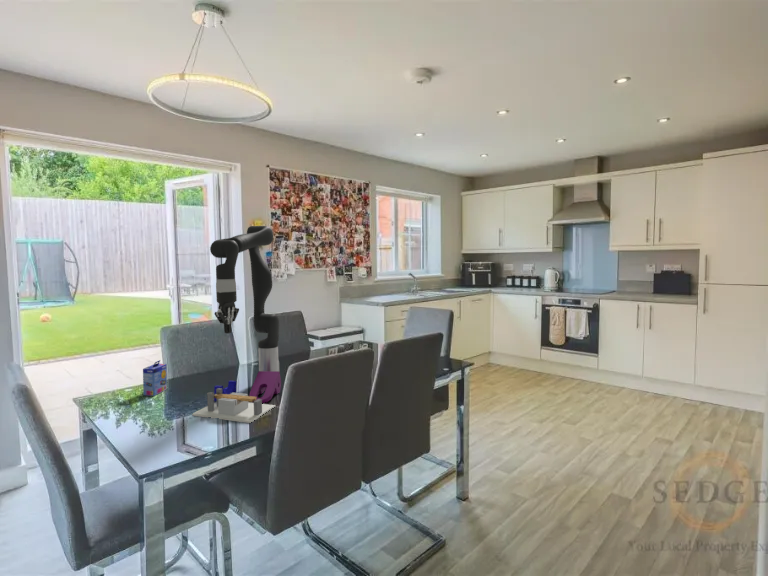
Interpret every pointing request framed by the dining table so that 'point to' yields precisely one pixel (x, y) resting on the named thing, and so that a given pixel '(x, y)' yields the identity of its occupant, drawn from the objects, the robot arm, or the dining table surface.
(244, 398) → the wooden strip
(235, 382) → the cable clip
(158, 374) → the ink cartridge box
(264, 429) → the dining table surface
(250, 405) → the board
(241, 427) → the dining table surface
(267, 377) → the mounting bracket
